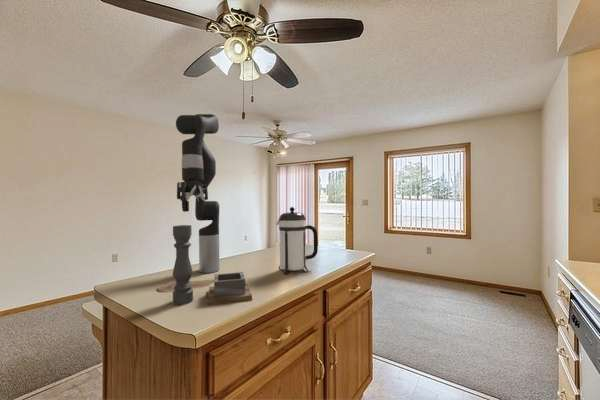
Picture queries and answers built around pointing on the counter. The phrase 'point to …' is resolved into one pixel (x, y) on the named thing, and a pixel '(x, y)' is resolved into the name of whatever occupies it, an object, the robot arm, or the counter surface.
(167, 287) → the fish fossil
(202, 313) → the counter surface
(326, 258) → the counter surface
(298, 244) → the coffee press
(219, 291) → the collar socket
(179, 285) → the candle holder
